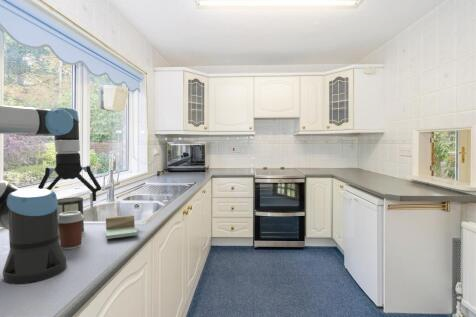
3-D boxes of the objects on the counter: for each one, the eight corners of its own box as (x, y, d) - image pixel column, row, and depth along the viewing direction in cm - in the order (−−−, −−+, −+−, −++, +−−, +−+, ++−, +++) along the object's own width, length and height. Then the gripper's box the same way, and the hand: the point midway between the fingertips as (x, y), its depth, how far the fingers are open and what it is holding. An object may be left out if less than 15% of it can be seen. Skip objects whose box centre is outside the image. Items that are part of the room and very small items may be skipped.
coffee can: (73, 228, 129) (71, 196, 128) (89, 231, 125) (88, 198, 124) (49, 235, 120) (47, 200, 119) (66, 239, 116) (65, 202, 115)
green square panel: (134, 229, 127) (137, 235, 116) (106, 232, 123) (106, 239, 112) (134, 226, 127) (137, 232, 116) (106, 229, 123) (106, 235, 112)
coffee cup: (67, 252, 102) (65, 217, 101) (50, 248, 106) (49, 214, 105) (91, 244, 110) (89, 211, 109) (75, 240, 114) (73, 209, 113)
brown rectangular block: (134, 229, 128) (134, 215, 127) (106, 232, 123) (105, 218, 123) (134, 228, 129) (133, 214, 129) (106, 231, 125) (105, 217, 125)
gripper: (106, 151, 114) (108, 206, 116) (28, 153, 104) (31, 213, 106) (106, 152, 107) (109, 210, 109) (22, 154, 97) (26, 218, 99)
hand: (70, 212), depth 107 cm, fingers open, 13 cm apart
